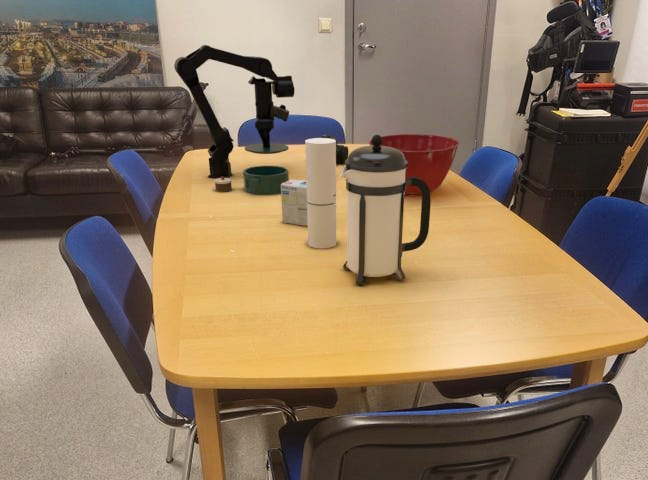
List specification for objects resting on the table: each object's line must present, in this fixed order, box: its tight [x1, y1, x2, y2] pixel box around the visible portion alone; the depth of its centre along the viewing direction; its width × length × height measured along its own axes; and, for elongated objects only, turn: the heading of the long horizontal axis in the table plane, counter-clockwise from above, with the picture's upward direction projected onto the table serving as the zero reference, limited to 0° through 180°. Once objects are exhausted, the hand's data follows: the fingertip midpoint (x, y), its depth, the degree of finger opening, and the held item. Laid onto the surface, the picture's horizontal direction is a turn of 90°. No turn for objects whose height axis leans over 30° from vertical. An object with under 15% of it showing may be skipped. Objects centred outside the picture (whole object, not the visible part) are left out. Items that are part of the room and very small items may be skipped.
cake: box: [213, 176, 233, 193], centre depth 203 cm, size 5×5×4 cm
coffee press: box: [339, 134, 432, 287], centre depth 134 cm, size 17×16×30 cm
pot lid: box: [244, 134, 290, 155], centre depth 220 cm, size 15×15×6 cm
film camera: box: [321, 134, 350, 165], centre depth 237 cm, size 18×12×10 cm
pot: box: [242, 165, 290, 196], centre depth 204 cm, size 14×20×6 cm
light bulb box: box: [280, 178, 308, 227], centre depth 172 cm, size 11×7×11 cm, turn 65°
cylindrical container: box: [304, 137, 337, 249], centre depth 152 cm, size 7×7×25 cm
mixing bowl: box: [368, 133, 460, 197], centre depth 201 cm, size 28×28×15 cm
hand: (266, 145), depth 221 cm, fingers closed on pot lid, 3 cm apart
